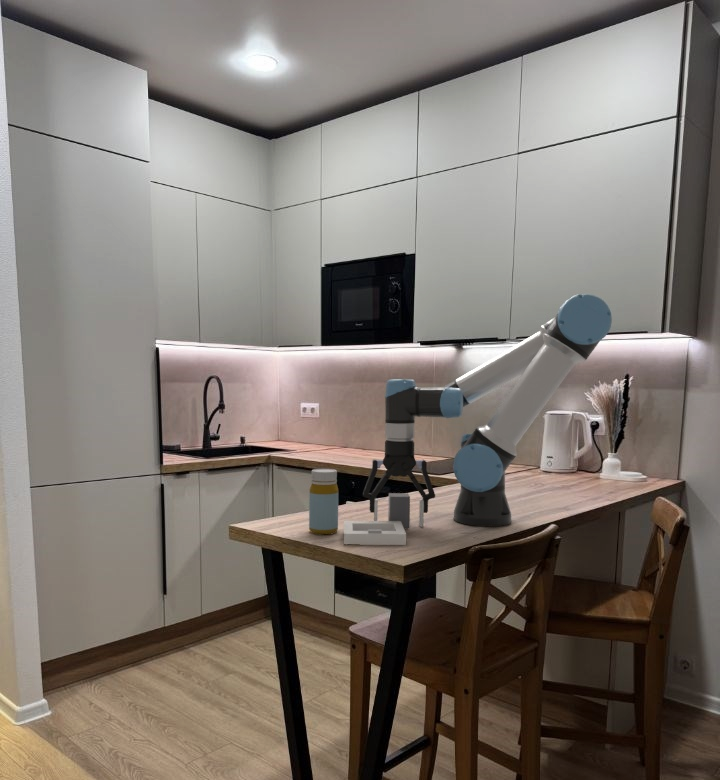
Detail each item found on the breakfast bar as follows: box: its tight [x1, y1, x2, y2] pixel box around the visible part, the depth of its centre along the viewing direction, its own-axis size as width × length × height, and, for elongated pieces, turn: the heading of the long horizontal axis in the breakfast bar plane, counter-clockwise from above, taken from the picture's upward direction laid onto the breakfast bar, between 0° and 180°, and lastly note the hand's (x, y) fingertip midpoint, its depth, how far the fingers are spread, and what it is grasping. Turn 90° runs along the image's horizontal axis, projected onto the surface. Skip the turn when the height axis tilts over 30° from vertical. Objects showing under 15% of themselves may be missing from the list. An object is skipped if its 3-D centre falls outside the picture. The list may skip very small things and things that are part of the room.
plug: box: [387, 492, 411, 530], centre depth 158 cm, size 5×5×8 cm
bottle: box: [308, 468, 339, 535], centre depth 151 cm, size 7×7×15 cm
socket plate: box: [343, 520, 407, 546], centre depth 146 cm, size 14×13×3 cm
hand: (398, 525), depth 158 cm, fingers open, 11 cm apart
